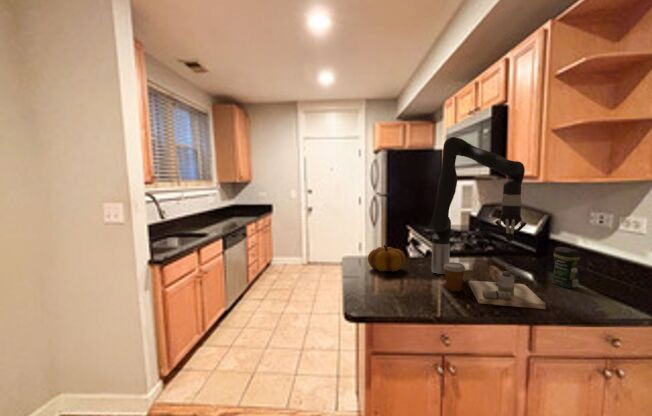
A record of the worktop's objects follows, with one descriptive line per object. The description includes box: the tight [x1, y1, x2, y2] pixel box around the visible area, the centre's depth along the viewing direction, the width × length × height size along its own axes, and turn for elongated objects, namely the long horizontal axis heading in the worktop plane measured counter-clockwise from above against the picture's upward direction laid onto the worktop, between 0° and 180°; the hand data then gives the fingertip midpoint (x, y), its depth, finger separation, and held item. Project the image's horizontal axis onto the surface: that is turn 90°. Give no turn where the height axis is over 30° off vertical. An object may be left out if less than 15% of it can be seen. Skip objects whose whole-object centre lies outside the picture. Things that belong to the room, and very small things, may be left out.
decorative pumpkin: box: [367, 244, 406, 273], centre depth 174 cm, size 20×22×15 cm
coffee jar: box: [552, 246, 581, 289], centre depth 142 cm, size 10×8×19 cm
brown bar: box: [489, 265, 515, 296], centre depth 134 cm, size 19×6×10 cm, turn 170°
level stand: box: [468, 280, 547, 310], centre depth 132 cm, size 24×24×5 cm
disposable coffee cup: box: [444, 261, 466, 292], centre depth 140 cm, size 10×10×12 cm
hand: (509, 241), depth 137 cm, fingers closed
